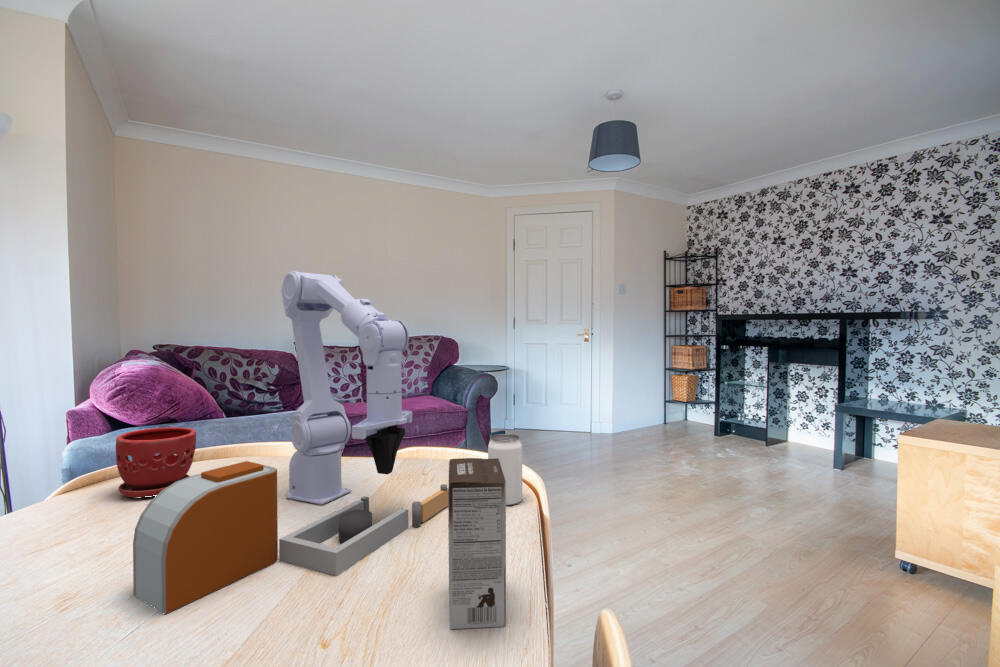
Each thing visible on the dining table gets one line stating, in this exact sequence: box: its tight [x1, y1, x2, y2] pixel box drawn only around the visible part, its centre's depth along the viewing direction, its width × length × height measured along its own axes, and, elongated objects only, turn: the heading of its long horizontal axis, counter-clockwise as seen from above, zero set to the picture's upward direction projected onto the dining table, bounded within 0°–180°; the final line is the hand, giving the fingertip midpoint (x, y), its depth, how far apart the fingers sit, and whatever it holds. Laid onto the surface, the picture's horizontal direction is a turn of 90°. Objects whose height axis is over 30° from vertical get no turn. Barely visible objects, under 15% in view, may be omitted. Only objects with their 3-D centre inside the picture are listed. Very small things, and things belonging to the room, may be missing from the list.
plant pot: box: [115, 426, 197, 498], centre depth 93 cm, size 13×13×12 cm
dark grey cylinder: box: [338, 510, 373, 545], centre depth 72 cm, size 5×5×4 cm
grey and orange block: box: [132, 460, 279, 615], centre depth 61 cm, size 15×8×14 cm, turn 150°
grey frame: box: [278, 496, 409, 576], centre depth 71 cm, size 10×18×3 cm, turn 156°
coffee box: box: [447, 457, 507, 630], centre depth 54 cm, size 9×6×16 cm
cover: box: [411, 484, 449, 528], centre depth 80 cm, size 10×1×4 cm, turn 156°
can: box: [487, 433, 523, 507], centre depth 87 cm, size 6×6×12 cm
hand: (384, 472), depth 77 cm, fingers closed
